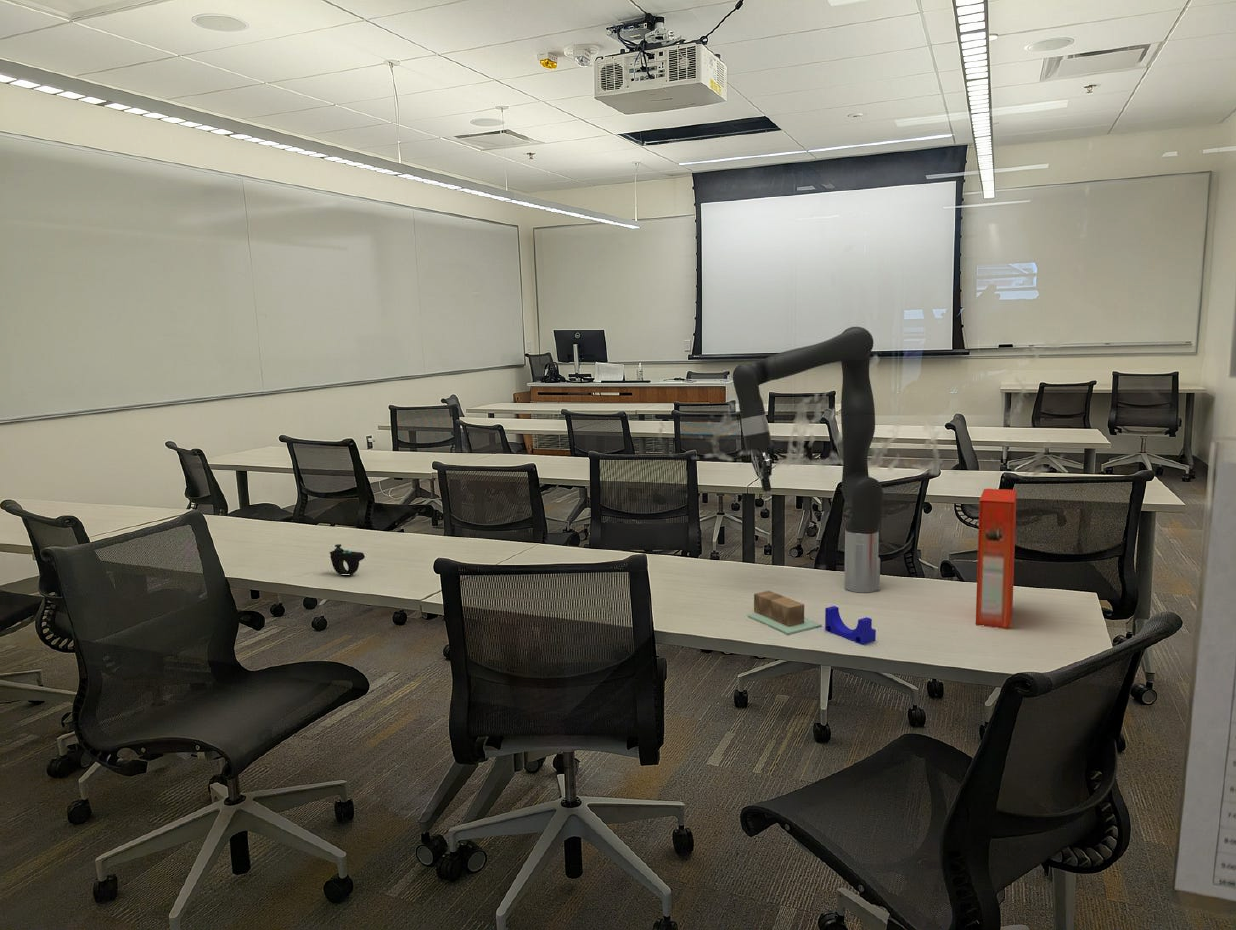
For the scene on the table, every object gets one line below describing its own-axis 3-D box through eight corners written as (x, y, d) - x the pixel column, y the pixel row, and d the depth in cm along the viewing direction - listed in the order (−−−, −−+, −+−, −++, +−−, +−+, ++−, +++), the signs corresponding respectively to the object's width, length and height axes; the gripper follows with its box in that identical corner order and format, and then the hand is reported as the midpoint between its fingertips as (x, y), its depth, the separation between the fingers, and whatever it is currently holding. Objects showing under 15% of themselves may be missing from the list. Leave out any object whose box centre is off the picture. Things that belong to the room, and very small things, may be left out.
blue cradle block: (875, 641, 193) (876, 617, 192) (862, 645, 191) (863, 621, 190) (837, 627, 203) (838, 604, 202) (825, 631, 201) (825, 608, 200)
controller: (338, 572, 266) (336, 542, 264) (368, 575, 261) (365, 545, 259) (329, 575, 262) (326, 545, 260) (359, 579, 257) (356, 548, 255)
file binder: (974, 624, 202) (979, 499, 197) (979, 604, 217) (984, 488, 212) (1009, 629, 198) (1015, 502, 193) (1012, 608, 213) (1018, 490, 208)
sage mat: (747, 616, 212) (747, 614, 212) (780, 609, 217) (780, 607, 217) (788, 634, 198) (788, 632, 198) (821, 626, 203) (821, 624, 203)
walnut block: (754, 593, 214) (789, 607, 202) (768, 590, 216) (804, 604, 204) (754, 611, 214) (789, 626, 202) (768, 608, 217) (804, 623, 205)
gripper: (775, 429, 226) (787, 489, 226) (761, 430, 239) (772, 487, 239) (750, 433, 225) (761, 494, 225) (737, 435, 238) (748, 492, 238)
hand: (767, 491), depth 232 cm, fingers closed
